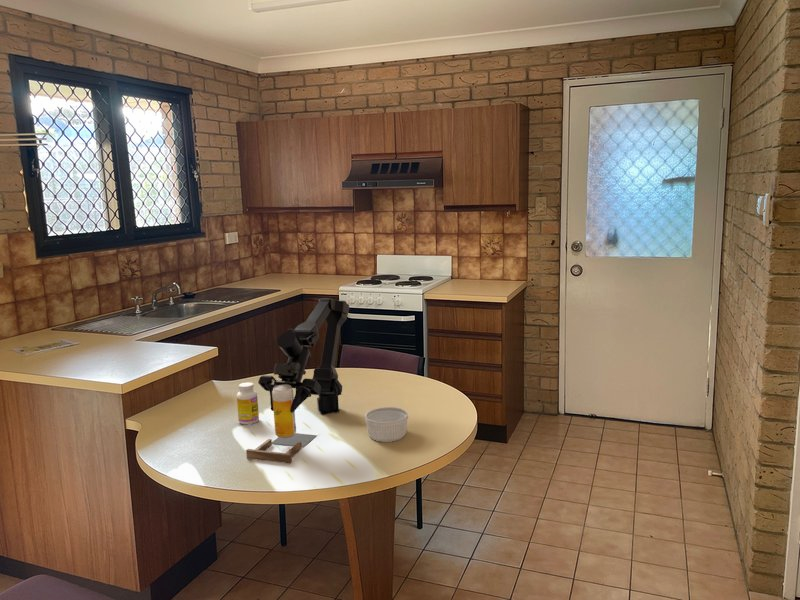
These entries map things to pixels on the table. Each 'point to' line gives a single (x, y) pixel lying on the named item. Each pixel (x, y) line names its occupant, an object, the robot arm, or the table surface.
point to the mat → (295, 440)
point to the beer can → (283, 411)
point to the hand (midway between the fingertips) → (281, 411)
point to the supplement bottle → (247, 404)
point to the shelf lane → (273, 453)
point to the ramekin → (386, 423)
